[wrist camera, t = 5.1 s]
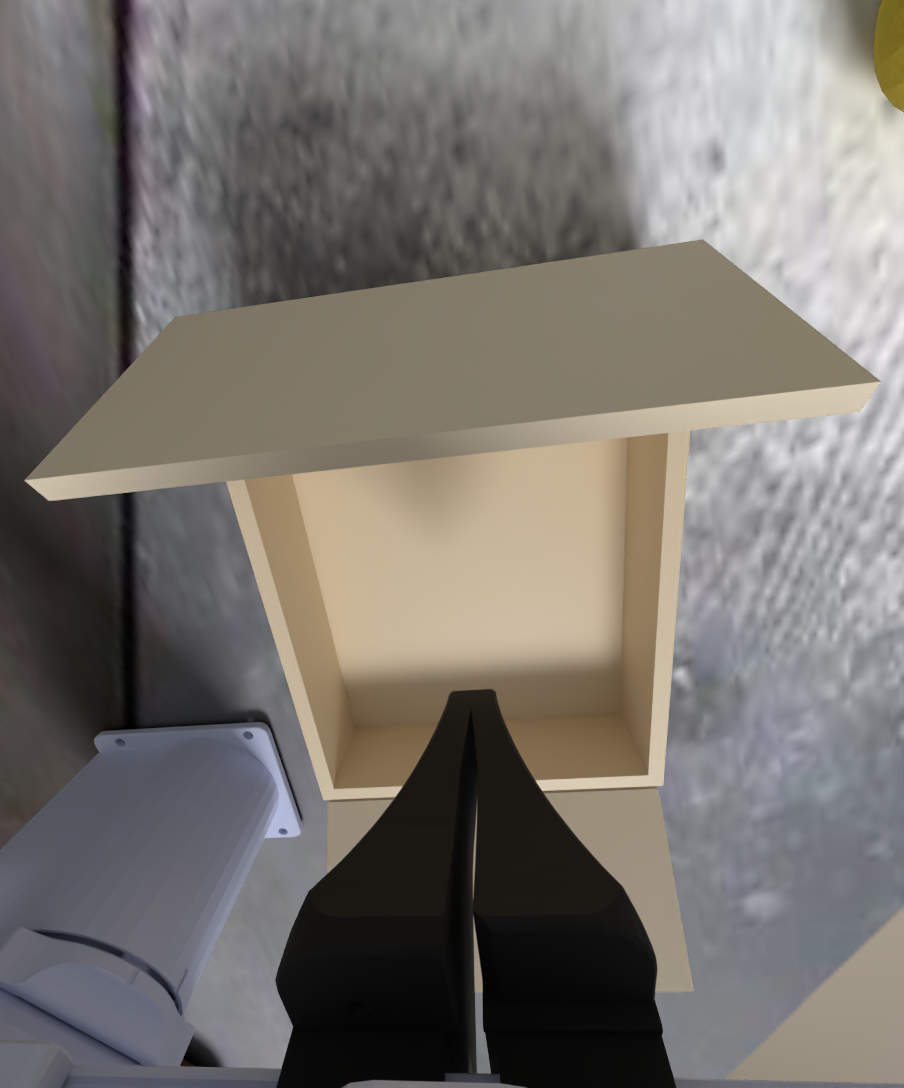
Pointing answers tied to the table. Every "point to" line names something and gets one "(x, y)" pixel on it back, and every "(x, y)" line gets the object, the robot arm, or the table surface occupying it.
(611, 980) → the robot arm
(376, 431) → the near flap
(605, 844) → the far flap
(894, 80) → the lemon
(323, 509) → the carton
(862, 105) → the table surface
